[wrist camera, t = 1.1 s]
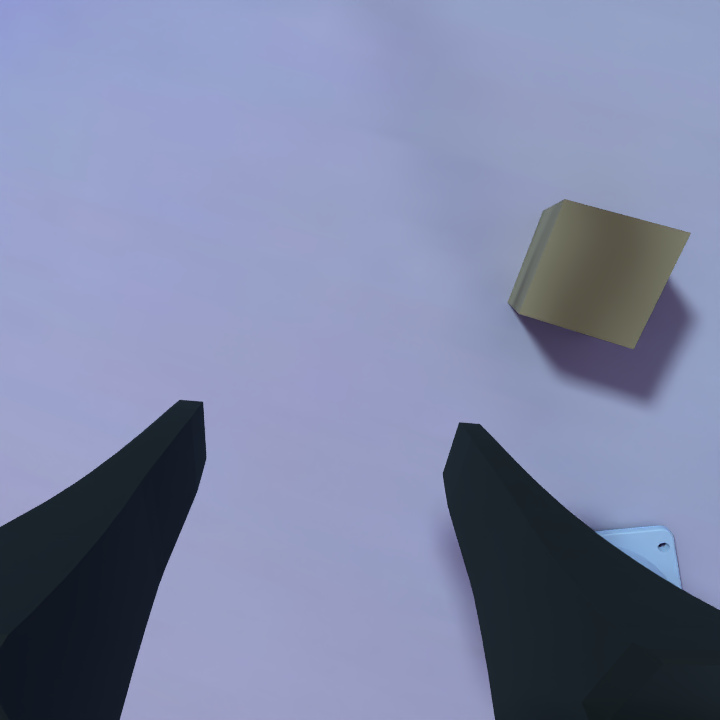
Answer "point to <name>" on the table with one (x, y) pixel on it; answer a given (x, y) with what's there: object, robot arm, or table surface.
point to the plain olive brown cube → (596, 271)
